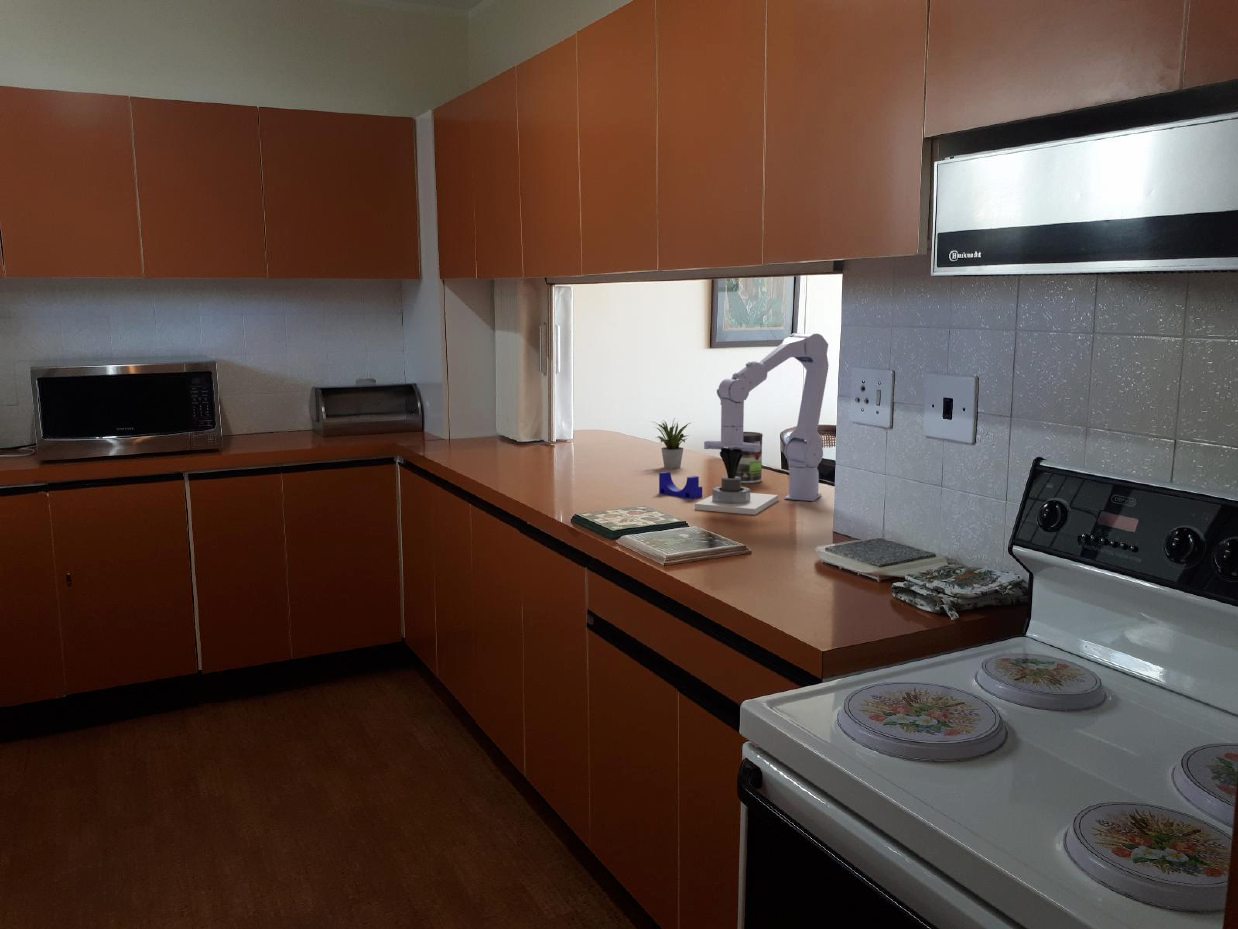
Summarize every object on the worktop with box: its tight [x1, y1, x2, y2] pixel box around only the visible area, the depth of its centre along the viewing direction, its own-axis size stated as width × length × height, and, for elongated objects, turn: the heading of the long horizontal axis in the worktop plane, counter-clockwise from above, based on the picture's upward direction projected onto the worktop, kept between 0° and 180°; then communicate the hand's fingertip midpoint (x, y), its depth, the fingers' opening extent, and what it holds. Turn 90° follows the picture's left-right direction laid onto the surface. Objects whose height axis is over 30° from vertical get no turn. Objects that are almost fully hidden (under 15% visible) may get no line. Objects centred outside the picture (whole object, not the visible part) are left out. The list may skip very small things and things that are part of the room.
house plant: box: [649, 417, 693, 469], centre depth 318 cm, size 14×14×16 cm
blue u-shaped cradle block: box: [658, 471, 703, 500], centre depth 273 cm, size 12×4×6 cm, turn 44°
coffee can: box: [727, 431, 764, 484], centre depth 294 cm, size 10×10×14 cm
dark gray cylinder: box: [721, 475, 742, 492], centre depth 257 cm, size 5×5×6 cm
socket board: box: [694, 485, 779, 516], centre depth 259 cm, size 20×16×4 cm
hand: (731, 478), depth 256 cm, fingers closed, pressing on dark gray cylinder
